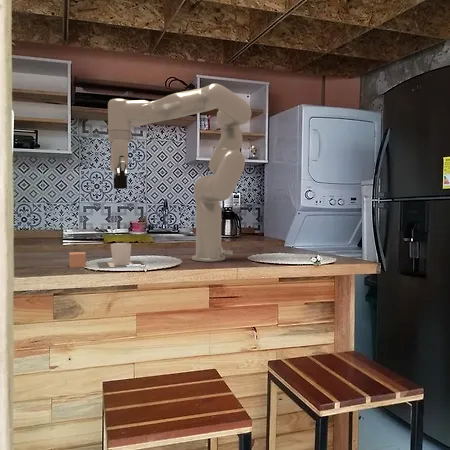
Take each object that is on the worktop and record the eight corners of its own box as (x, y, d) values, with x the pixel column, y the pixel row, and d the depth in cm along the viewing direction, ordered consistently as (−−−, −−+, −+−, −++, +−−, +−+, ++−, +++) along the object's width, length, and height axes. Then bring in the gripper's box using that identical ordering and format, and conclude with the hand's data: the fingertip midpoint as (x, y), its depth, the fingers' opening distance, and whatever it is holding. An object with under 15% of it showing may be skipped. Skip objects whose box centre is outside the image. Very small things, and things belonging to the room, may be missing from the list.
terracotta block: (85, 266, 152) (85, 252, 151) (85, 269, 147) (85, 253, 146) (69, 267, 150) (69, 252, 150) (69, 269, 145) (69, 254, 145)
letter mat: (139, 262, 162) (139, 260, 162) (146, 268, 149) (146, 266, 149) (96, 264, 157) (96, 262, 157) (99, 270, 144) (99, 268, 144)
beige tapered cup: (125, 266, 149) (125, 245, 148) (107, 265, 150) (106, 244, 150) (134, 263, 155) (134, 243, 155) (116, 262, 157) (116, 242, 157)
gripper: (106, 139, 157) (106, 188, 158) (110, 133, 141) (111, 187, 142) (127, 140, 160) (128, 189, 161) (134, 134, 144) (135, 188, 145)
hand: (120, 188), depth 152 cm, fingers open, 9 cm apart
